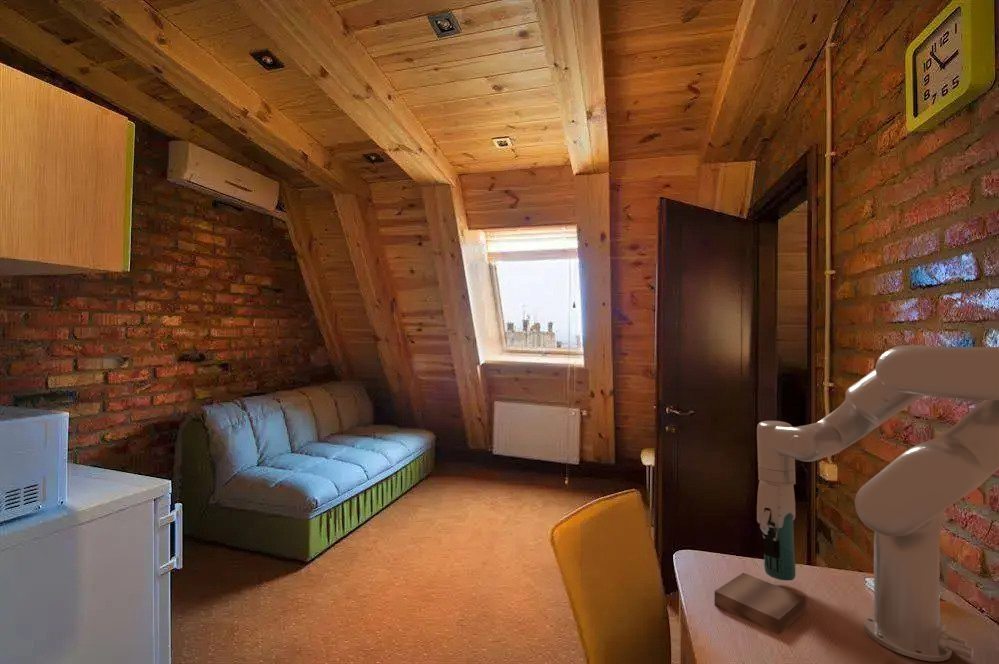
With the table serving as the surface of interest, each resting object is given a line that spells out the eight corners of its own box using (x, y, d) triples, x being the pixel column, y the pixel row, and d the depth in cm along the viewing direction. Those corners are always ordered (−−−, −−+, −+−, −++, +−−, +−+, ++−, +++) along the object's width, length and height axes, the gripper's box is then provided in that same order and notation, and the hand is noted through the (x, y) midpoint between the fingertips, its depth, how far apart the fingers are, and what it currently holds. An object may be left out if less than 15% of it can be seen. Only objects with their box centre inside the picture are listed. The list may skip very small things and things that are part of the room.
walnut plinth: (805, 611, 100) (805, 597, 100) (779, 635, 92) (778, 619, 92) (743, 585, 110) (743, 572, 110) (714, 604, 103) (714, 591, 103)
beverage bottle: (796, 578, 111) (793, 492, 112) (796, 590, 106) (793, 500, 106) (764, 571, 115) (762, 488, 115) (763, 583, 109) (760, 495, 110)
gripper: (775, 465, 119) (778, 537, 119) (742, 478, 108) (744, 557, 108) (809, 471, 113) (811, 547, 113) (777, 485, 103) (780, 569, 102)
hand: (778, 551), depth 110 cm, fingers closed on beverage bottle, 6 cm apart
